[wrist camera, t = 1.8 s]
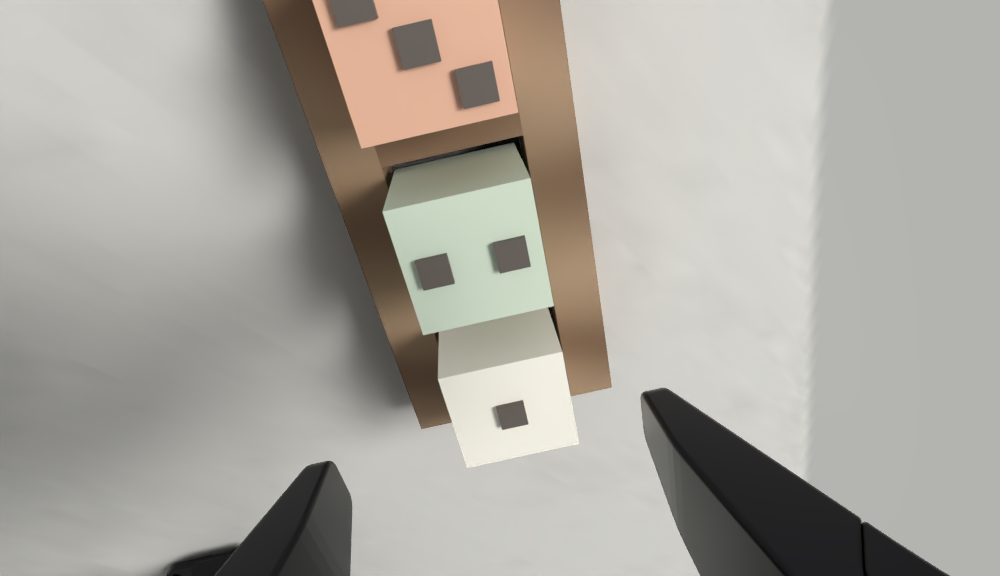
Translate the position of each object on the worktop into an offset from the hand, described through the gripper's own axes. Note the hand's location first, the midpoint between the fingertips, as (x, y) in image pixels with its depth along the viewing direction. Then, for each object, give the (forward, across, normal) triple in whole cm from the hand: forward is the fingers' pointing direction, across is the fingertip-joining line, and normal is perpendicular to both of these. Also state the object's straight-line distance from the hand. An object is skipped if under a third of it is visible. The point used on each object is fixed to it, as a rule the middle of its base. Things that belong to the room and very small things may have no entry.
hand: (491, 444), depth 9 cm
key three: (+11, 0, -6) cm, 12 cm away
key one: (+11, 0, +6) cm, 12 cm away
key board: (+12, 0, 0) cm, 13 cm away
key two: (+11, 0, 0) cm, 11 cm away
